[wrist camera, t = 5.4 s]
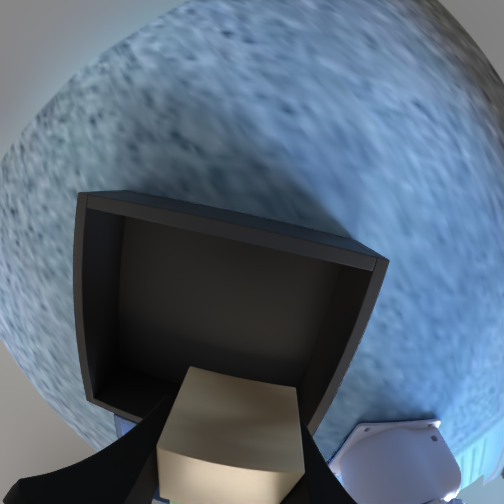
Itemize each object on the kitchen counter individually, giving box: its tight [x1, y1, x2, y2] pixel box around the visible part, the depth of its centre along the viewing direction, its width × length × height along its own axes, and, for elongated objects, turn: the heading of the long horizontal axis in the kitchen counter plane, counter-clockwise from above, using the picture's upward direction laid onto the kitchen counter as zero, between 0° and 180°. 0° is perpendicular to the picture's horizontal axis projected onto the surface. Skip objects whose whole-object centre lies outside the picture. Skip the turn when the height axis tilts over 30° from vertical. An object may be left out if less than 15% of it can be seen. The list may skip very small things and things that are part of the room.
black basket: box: [73, 190, 389, 436], centre depth 13 cm, size 13×12×4 cm
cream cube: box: [157, 367, 305, 504], centre depth 8 cm, size 4×4×4 cm
